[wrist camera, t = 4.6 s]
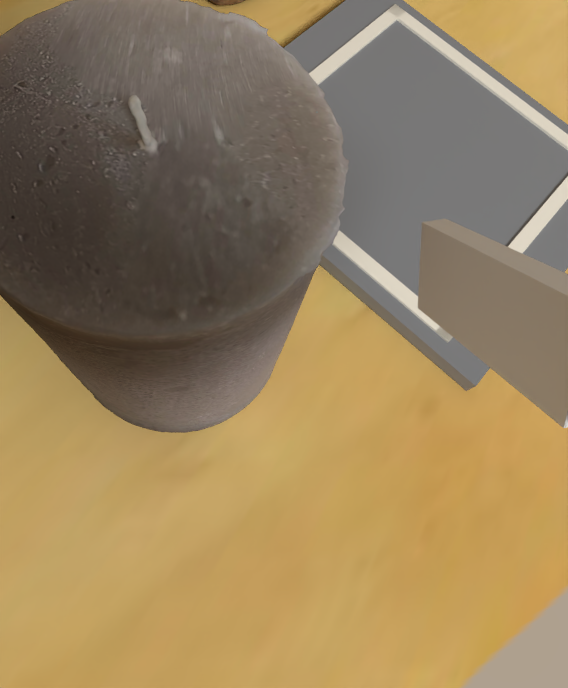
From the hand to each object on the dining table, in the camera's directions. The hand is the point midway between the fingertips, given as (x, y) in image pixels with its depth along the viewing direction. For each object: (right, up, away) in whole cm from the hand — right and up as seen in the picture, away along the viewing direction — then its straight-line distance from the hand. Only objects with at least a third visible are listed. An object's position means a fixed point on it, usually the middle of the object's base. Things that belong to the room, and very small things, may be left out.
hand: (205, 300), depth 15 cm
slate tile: (+9, +9, +15) cm, 20 cm away
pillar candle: (-3, -1, +11) cm, 11 cm away
